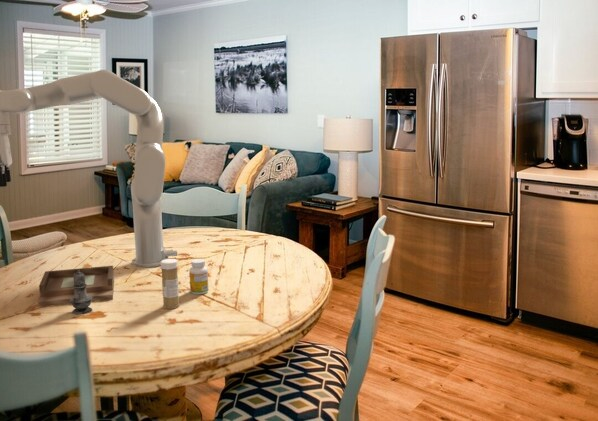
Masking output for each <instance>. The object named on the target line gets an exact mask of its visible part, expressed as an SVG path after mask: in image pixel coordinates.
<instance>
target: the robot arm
mask: <svg viewBox="0 0 598 421" xmlns="http://www.w3.org/2000/svg"><path fill="white" fill-rule="evenodd" d="M99 99H104V100H106V101H107V102H109V103H111V104H113V105H115V106H116V107H118V108H120V109H122V110H124V111H126V112H128V113H130V114H131V115H133V116H135V118H136V122H137V127H136V143H135V149H134V155H133V156H134V160H135V164H134V178H133V179H132V180H131V185H130V194H131V200H132V201H131V202H132V216H133V231H134V232H133V234H134V247H135V257H134V258H133V259H131V264H132V265H133V266H134V267H139V268H155V267H159V266H160V267H161V261H162V260H165V259H170V258H169V257H177V256H178V250H173V249H169V250H167V249H165V246H164V235H163V234H164V233H163V219H162V218H163V217H162V203H161V202H162V201H161V198H162V196H163V191H164V185H165V184H164V182H165V171H166V156H165V152H164V150H163V141H164V140H163V137H164V135H163V134H164V118H163V114H162V111H161V108H160V107H159V105H158V103H157V102H156V100H155V99H154V98H152V97H151V95H149V93H148V92H147V91H145V90H144V89H142V88H140V87H138V86H137V85H135V84H133V83H131V82H130V81H127V80H126V79H124V78H123V77H121V76H120V75H117V74H116V73H114V72H113V71H111V70H108V69H100V70H97V71H92V72H88V73H83V74H78V75H77V74H76V75H72V76H66V77H63V78H62V77H61V78H59V79H57V80H54V81H51V82H49V83H48V82H47V83H44V84H40V85H36V86H30V87H25V88H24V87H23V88H16V89H10V90H9V89H8V90H2V89H0V188H2V187H7V186H8V183H10V182H11V181H12V178H11V170H10V166H11V165H12V164H13V158H12V150H11V143H10V138H9V135H12V131H11V122H10V114H11V113H12V114H20V115H21V114H27V113H29V112H33V111H38V110H43V109H48V108H52V107H57V106H60V107H61V106H70V105H75V104H81V103H84V102H88V101H94V100H99Z"/></svg>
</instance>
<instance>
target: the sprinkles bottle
mask: <svg viewBox="0 0 598 421" xmlns="http://www.w3.org/2000/svg"><path fill="white" fill-rule="evenodd" d="M178 264H179V263H178V260H177V259H175V258H169V259H165V260H162V261H161V265H160V269H161V283H162V285H161V286H162V287H161V288H162V301H163V306H162V307H163V308H164V309H167V310H169V309H177V308H178V307H179V306H180V303H179V302H180V301H179V300H180V299H179V294H180V293H179V277H178V266H179V265H178Z"/></svg>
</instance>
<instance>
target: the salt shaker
mask: <svg viewBox="0 0 598 421" xmlns="http://www.w3.org/2000/svg"><path fill="white" fill-rule="evenodd" d="M73 277H74V285H73V287H74V291H75V295H74V297H73V298H71V299H70V302H71V306H72V307H73V308H74V309H72V311H71V313H72V314H73V315H79V316H81V315H87V314H89V313H91V312H93V308H92V307H90V305H91V304H92V302H91V299H92V296H89V295H87V293H86V286H87V284H85V275H84V274H83V273H81V272H79V270H78V272H77V273H75V274H74V276H73Z"/></svg>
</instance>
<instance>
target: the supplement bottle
mask: <svg viewBox="0 0 598 421" xmlns="http://www.w3.org/2000/svg"><path fill="white" fill-rule="evenodd" d="M190 262H191V267H190V269H189V288H190V289H189V291H190V293H191V294H193V295H203V294H207V293H208V292H209V271H208V267H206V261H205V259H203V258H195V259H192V260H191V261H190Z"/></svg>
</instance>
